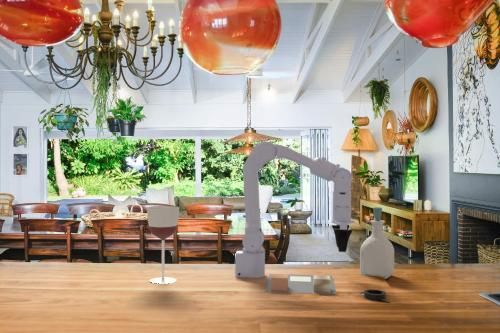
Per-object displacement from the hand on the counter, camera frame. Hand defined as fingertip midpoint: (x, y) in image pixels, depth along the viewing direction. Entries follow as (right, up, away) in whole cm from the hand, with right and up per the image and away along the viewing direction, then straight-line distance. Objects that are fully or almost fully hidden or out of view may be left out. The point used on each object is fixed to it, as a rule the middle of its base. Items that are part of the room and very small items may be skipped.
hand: (341, 249), depth 159 cm
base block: (-20, -9, -14) cm, 26 cm away
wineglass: (-56, -10, 0) cm, 57 cm away
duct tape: (+5, -11, -22) cm, 25 cm away
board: (-14, -10, -7) cm, 18 cm away
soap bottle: (+13, -10, +7) cm, 18 cm away
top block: (-8, -9, -15) cm, 19 cm away
